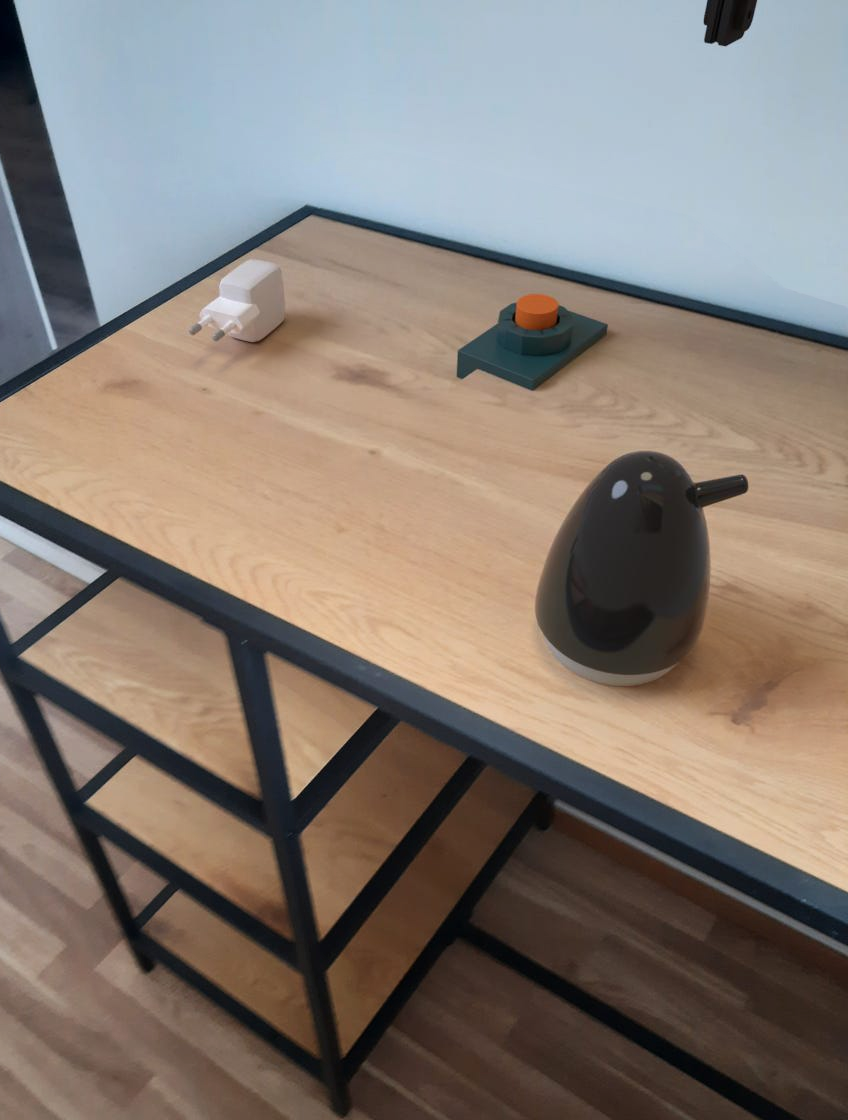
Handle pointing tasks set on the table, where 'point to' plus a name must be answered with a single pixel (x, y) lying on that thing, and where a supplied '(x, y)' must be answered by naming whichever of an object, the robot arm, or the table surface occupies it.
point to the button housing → (529, 348)
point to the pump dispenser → (631, 571)
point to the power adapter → (246, 303)
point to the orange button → (536, 312)
